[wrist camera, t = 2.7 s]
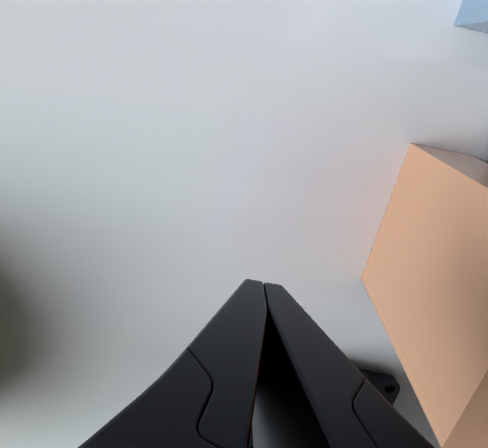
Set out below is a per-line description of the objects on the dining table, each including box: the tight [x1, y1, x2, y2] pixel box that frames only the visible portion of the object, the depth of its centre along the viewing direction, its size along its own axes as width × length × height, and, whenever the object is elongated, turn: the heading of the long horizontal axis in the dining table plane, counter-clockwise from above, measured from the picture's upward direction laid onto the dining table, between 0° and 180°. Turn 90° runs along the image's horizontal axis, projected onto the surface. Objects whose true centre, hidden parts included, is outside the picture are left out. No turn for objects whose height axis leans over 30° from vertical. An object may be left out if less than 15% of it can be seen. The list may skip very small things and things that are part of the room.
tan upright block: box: [361, 143, 488, 448], centre depth 12 cm, size 6×3×8 cm, turn 168°
